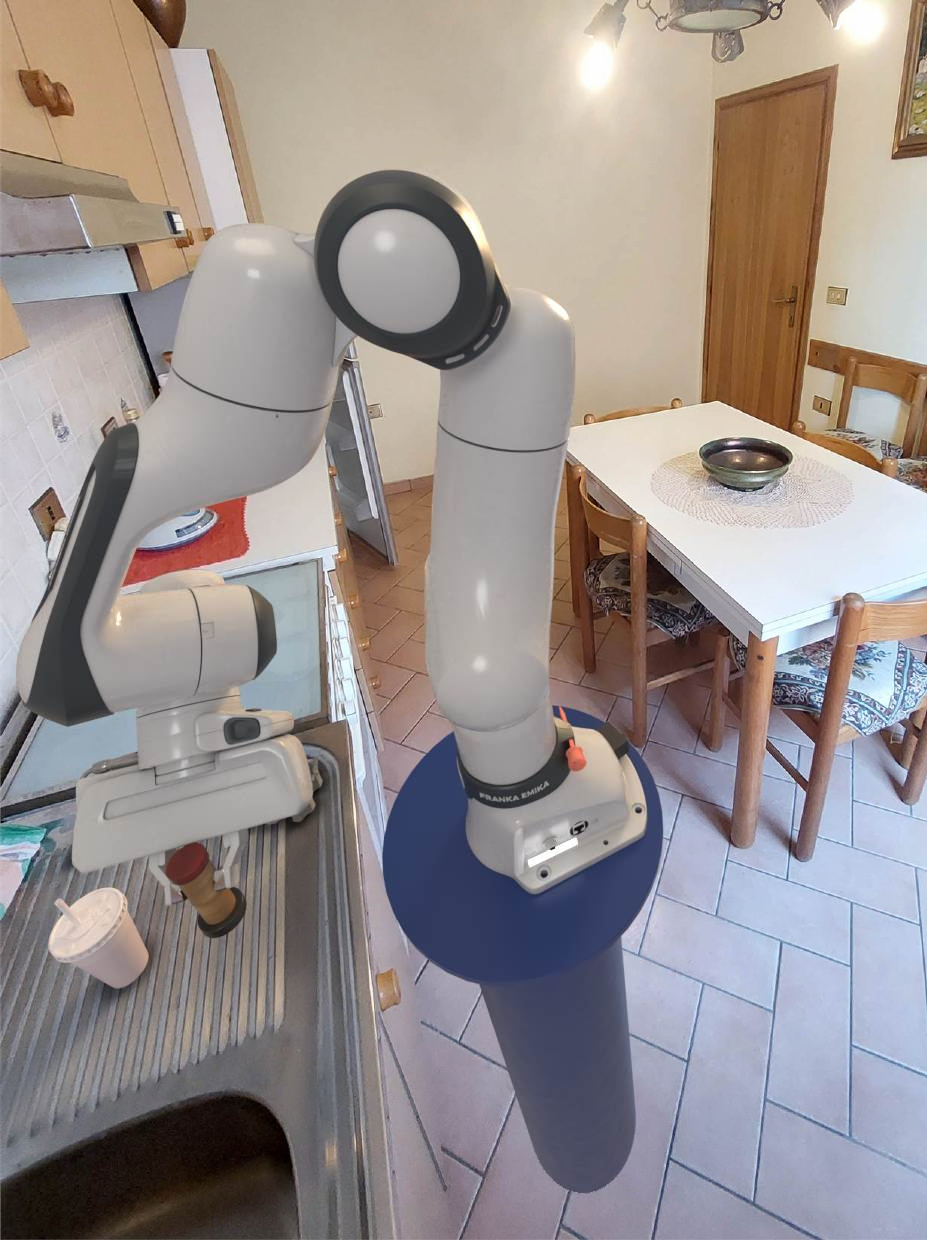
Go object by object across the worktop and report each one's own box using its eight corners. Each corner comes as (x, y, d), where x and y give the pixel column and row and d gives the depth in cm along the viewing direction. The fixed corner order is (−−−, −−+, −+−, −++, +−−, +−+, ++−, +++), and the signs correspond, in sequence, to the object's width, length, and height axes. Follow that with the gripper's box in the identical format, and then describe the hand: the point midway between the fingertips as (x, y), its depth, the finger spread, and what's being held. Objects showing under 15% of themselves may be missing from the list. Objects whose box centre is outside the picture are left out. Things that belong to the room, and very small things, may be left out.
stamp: (250, 887, 60) (215, 832, 56) (241, 930, 57) (202, 876, 52) (208, 899, 60) (168, 845, 55) (196, 944, 56) (153, 890, 52)
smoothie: (91, 965, 65) (23, 895, 58) (157, 920, 68) (100, 849, 62) (97, 1020, 60) (24, 951, 54) (167, 969, 64) (107, 898, 57)
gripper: (52, 772, 54) (54, 945, 51) (288, 713, 57) (305, 872, 54) (97, 762, 60) (102, 916, 57) (308, 709, 63) (325, 852, 60)
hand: (203, 894), depth 55 cm, fingers closed on stamp, 3 cm apart
